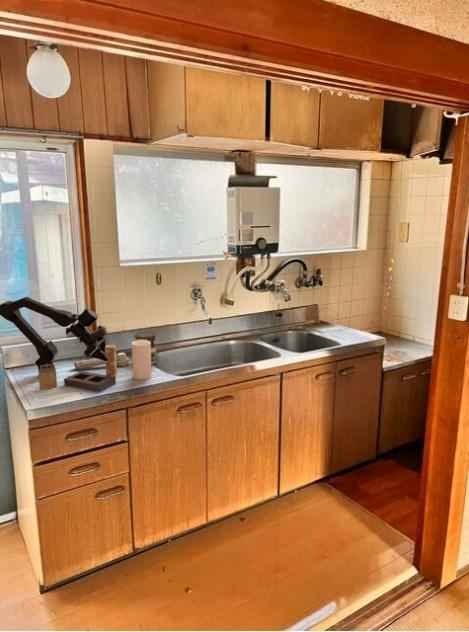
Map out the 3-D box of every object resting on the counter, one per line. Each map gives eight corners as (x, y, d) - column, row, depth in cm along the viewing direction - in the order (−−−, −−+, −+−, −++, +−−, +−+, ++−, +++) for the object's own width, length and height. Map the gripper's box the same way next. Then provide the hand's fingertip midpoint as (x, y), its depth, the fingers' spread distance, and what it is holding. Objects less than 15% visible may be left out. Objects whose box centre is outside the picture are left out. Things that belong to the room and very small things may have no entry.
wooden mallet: (73, 360, 220) (126, 348, 228) (76, 373, 222) (128, 361, 230) (74, 364, 215) (127, 351, 223) (77, 377, 217) (130, 364, 225)
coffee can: (154, 357, 238) (154, 331, 235) (157, 363, 228) (156, 336, 225) (134, 359, 235) (133, 332, 232) (136, 365, 225) (135, 337, 222)
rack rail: (64, 385, 198) (63, 378, 198) (81, 377, 208) (81, 371, 208) (99, 392, 192) (99, 385, 191) (115, 383, 202) (115, 377, 201)
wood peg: (106, 377, 209) (104, 347, 206) (108, 374, 213) (106, 345, 210) (115, 377, 209) (114, 347, 206) (117, 374, 213) (115, 345, 210)
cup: (132, 379, 206) (131, 345, 203) (133, 373, 214) (132, 340, 211) (151, 379, 207) (150, 344, 204) (151, 373, 215) (150, 339, 212)
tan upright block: (56, 384, 200) (54, 362, 197) (58, 387, 196) (56, 364, 194) (38, 387, 196) (36, 364, 194) (40, 390, 193) (38, 367, 191)
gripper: (90, 326, 196) (117, 351, 199) (99, 316, 214) (125, 339, 217) (72, 344, 197) (100, 368, 200) (83, 333, 215) (108, 355, 219)
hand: (109, 357), depth 209 cm, fingers open, 9 cm apart
